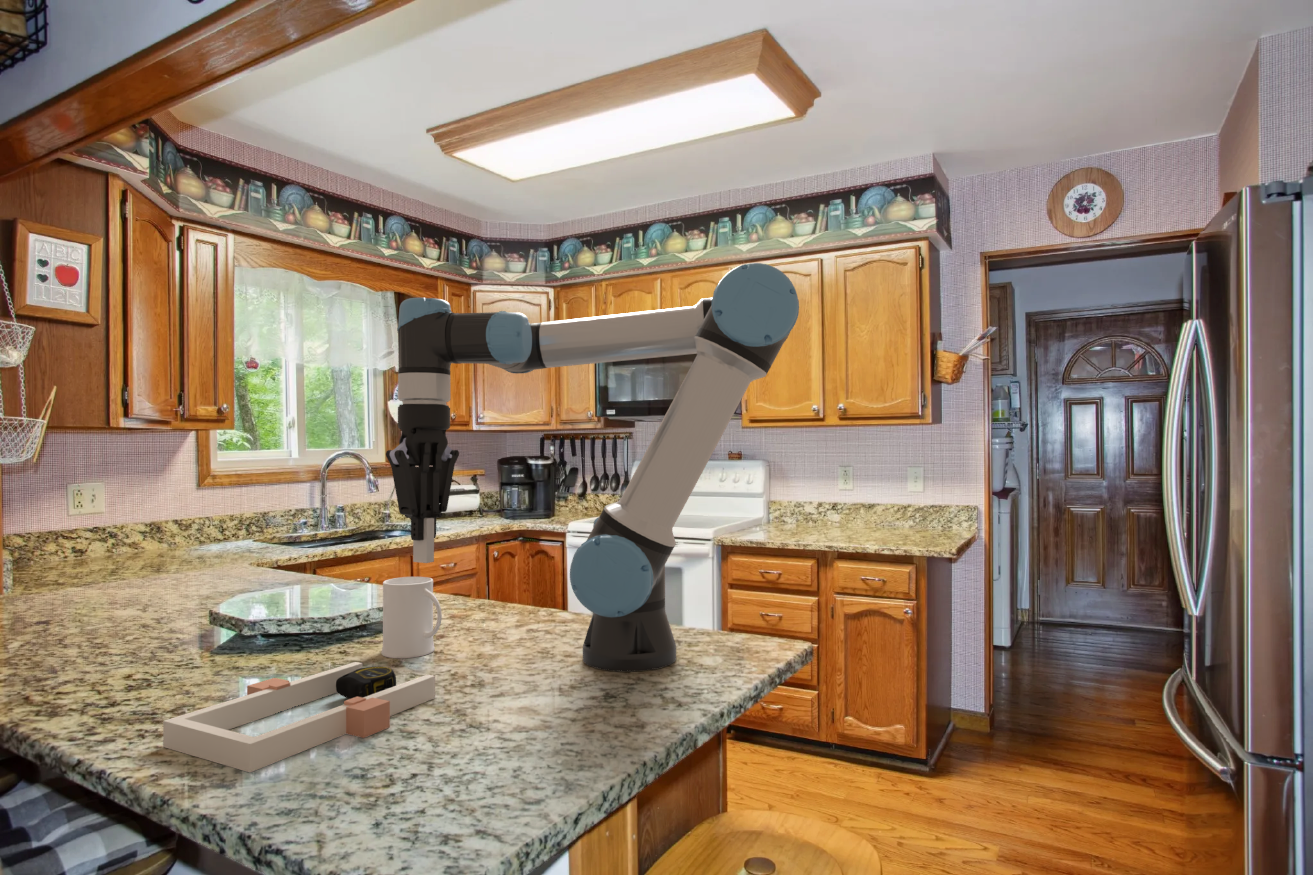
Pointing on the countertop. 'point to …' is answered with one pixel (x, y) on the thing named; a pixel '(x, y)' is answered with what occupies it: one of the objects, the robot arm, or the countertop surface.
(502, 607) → the countertop surface
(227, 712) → the slotted beam
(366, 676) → the tape measure
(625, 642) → the robot arm
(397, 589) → the mug
